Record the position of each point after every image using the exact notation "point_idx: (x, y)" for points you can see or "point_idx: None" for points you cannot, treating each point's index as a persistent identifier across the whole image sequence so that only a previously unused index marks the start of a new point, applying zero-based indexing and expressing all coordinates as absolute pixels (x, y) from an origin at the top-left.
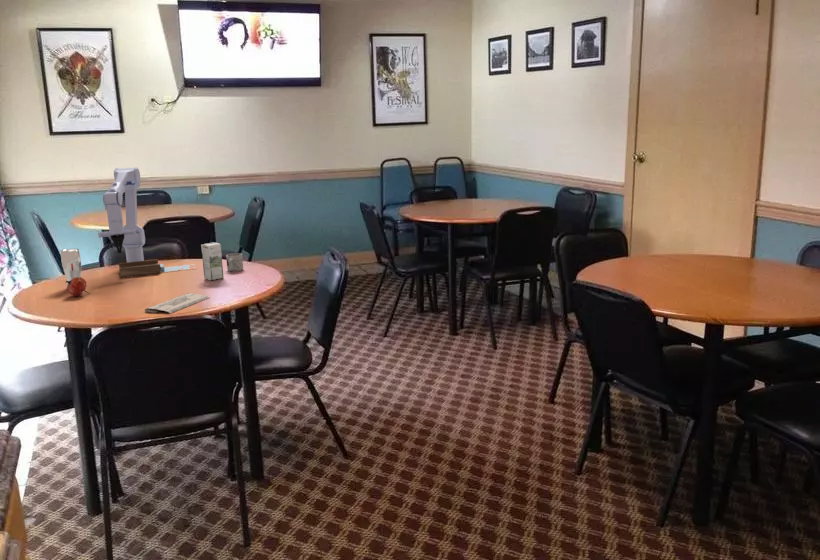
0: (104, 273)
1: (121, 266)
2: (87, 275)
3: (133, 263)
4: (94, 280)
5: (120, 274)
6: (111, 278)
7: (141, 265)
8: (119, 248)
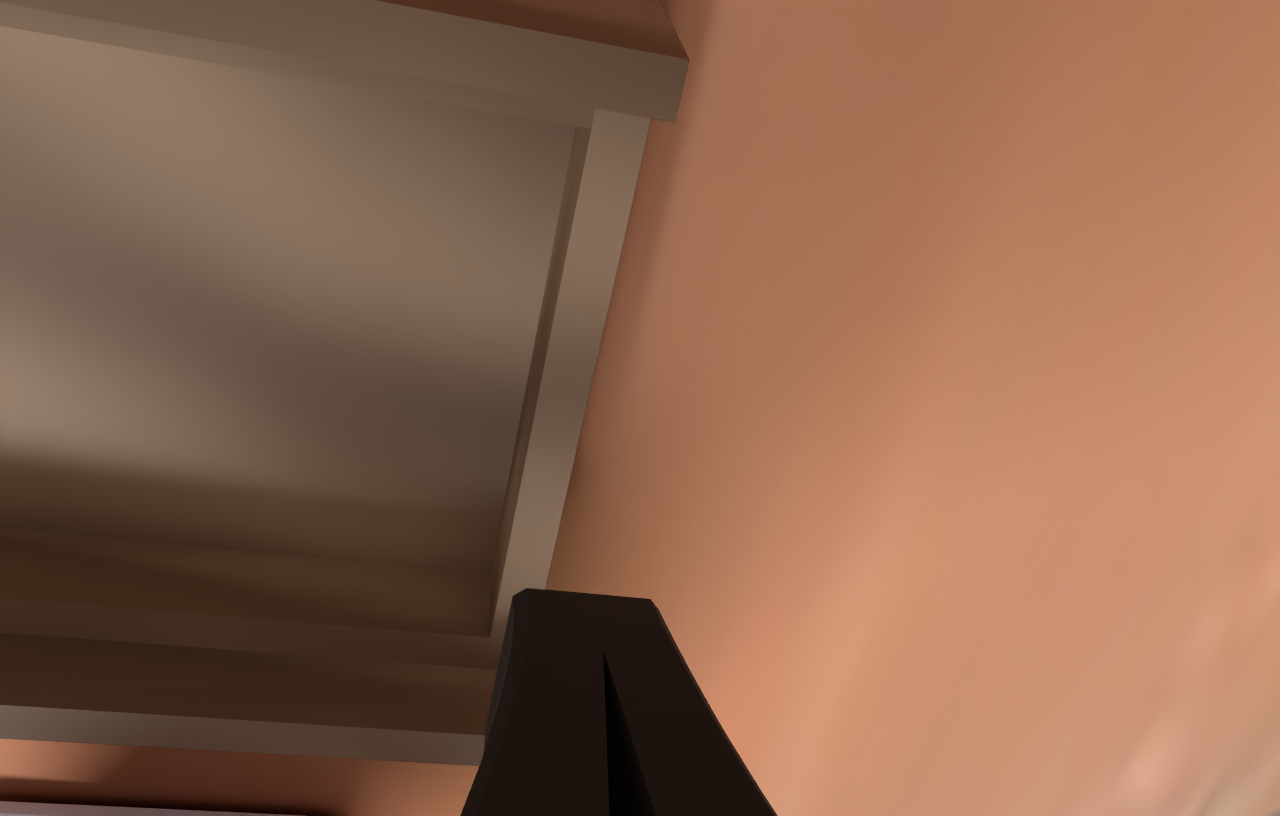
0: (776, 686)
1: (476, 675)
2: (1047, 697)
3: (185, 687)
4: (1192, 162)
5: (651, 4)
6: (839, 107)
7: (8, 593)
8: (602, 727)
